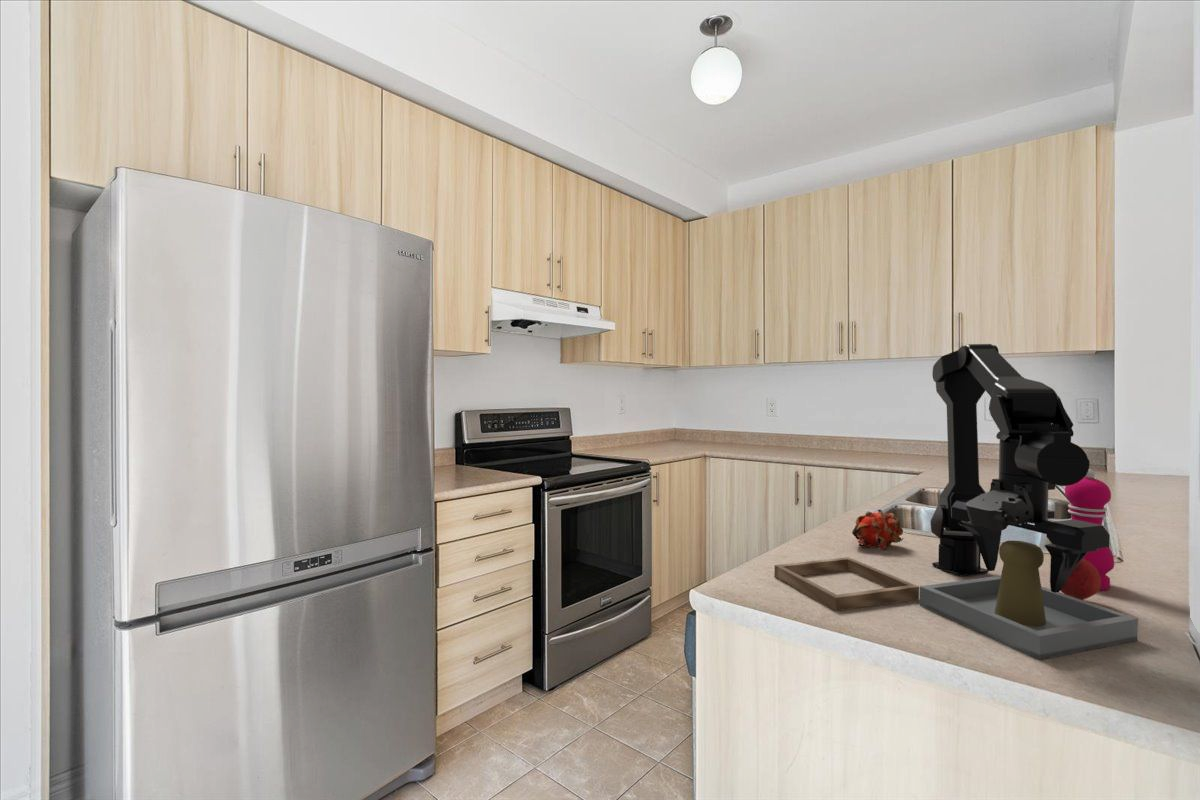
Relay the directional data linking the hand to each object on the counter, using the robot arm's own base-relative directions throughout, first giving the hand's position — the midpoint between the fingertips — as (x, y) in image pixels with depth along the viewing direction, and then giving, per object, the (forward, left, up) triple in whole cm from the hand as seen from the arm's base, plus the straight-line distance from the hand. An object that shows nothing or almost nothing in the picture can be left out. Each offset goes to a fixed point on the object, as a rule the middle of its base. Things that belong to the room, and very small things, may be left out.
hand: (1021, 580), depth 81 cm
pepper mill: (-26, -8, -6) cm, 28 cm away
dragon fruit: (-8, -36, -6) cm, 38 cm away
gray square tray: (0, 0, -6) cm, 6 cm away
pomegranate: (-16, -3, -6) cm, 17 cm away
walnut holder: (+15, -19, -6) cm, 25 cm away
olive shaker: (0, 0, -6) cm, 6 cm away
